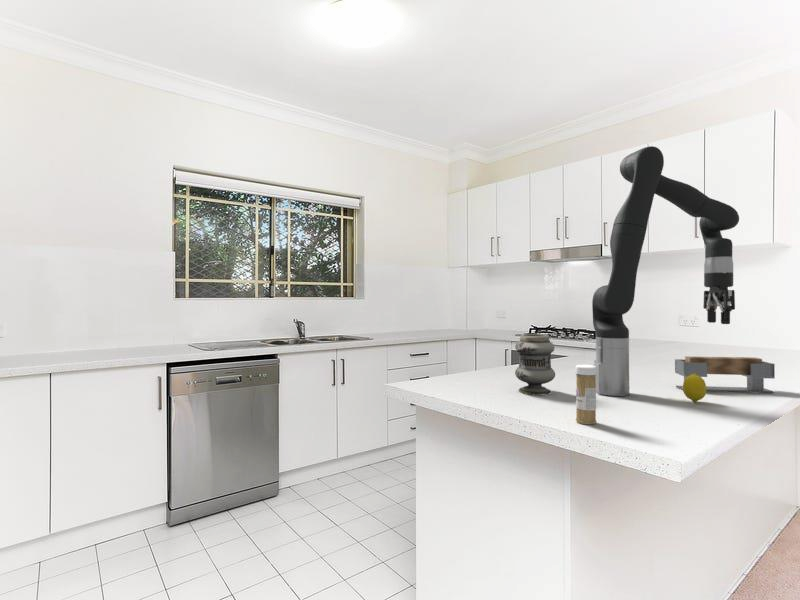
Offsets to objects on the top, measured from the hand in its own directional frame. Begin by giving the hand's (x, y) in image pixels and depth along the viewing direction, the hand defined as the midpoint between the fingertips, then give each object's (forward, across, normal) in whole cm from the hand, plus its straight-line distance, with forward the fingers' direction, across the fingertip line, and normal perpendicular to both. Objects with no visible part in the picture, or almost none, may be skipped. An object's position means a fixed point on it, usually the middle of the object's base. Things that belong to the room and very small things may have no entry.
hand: (718, 323), depth 141 cm
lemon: (+21, +20, -15) cm, 33 cm away
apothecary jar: (+22, +12, -57) cm, 62 cm away
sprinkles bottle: (+22, +46, -49) cm, 70 cm away
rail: (+16, 0, +1) cm, 16 cm away
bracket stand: (+21, 0, +1) cm, 21 cm away
